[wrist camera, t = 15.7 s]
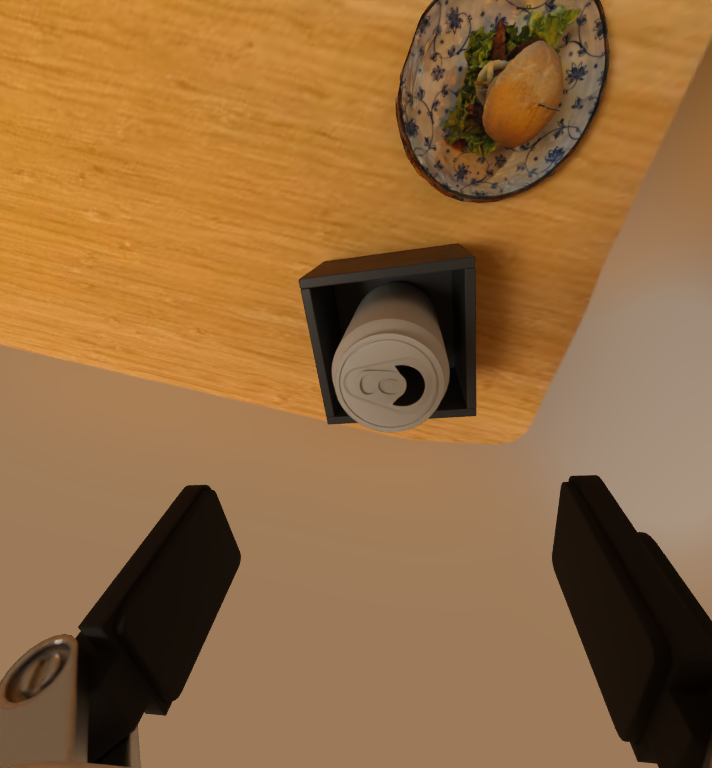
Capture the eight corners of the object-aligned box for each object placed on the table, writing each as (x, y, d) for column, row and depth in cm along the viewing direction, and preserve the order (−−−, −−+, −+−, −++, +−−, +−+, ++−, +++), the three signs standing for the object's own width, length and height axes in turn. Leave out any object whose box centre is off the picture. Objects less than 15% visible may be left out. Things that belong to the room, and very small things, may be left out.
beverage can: (431, 359, 31) (445, 443, 20) (355, 355, 31) (328, 434, 21) (440, 281, 28) (461, 330, 17) (356, 278, 29) (325, 323, 18)
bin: (323, 261, 29) (298, 279, 22) (458, 243, 27) (475, 256, 20) (343, 379, 33) (327, 424, 26) (461, 370, 31) (476, 416, 25)
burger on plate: (581, -86, 19) (673, -237, 13) (609, 156, 24) (688, 137, 17) (369, 36, 23) (354, -33, 16) (427, 230, 27) (434, 239, 20)
